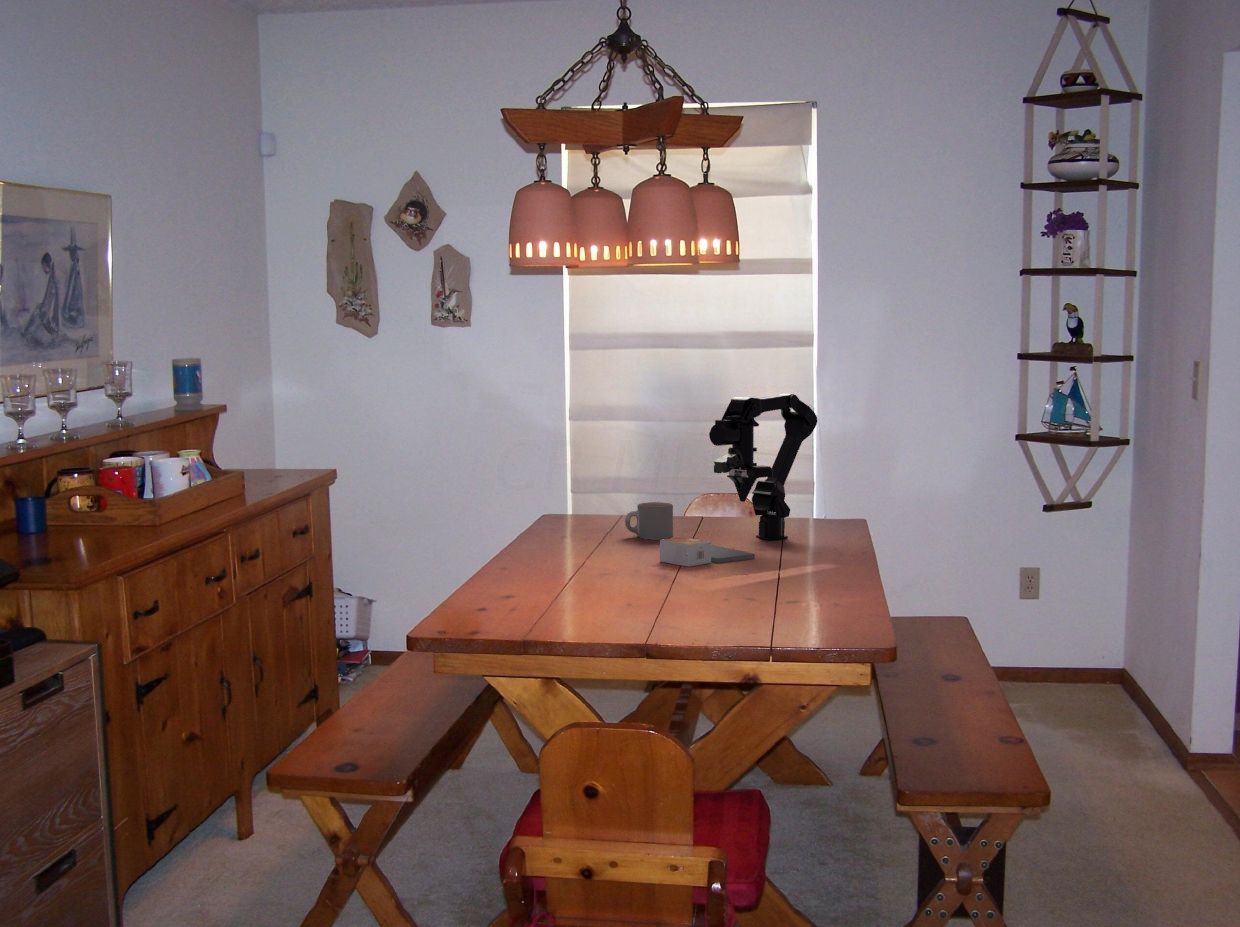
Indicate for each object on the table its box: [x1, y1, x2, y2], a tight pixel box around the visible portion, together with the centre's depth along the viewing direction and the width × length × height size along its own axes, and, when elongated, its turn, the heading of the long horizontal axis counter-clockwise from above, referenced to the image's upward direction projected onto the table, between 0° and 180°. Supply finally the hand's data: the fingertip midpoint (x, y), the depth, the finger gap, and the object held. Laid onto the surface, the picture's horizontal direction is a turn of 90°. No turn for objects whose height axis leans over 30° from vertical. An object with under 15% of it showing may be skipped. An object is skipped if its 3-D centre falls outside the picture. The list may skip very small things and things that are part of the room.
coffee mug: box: [624, 501, 674, 541], centre depth 325 cm, size 13×10×10 cm
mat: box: [711, 544, 756, 564], centre depth 298 cm, size 12×18×1 cm, turn 33°
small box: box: [659, 536, 712, 567], centre depth 289 cm, size 8×6×10 cm
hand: (742, 501), depth 314 cm, fingers closed
